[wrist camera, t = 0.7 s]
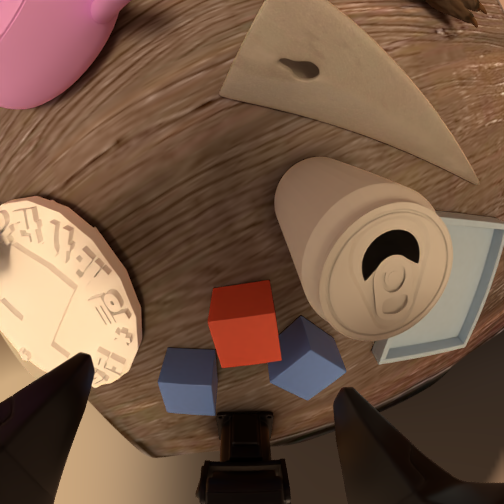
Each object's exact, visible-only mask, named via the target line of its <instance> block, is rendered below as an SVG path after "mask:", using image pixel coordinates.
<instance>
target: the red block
mask: <svg viewBox="0 0 504 504" xmlns="http://www.w3.org/2000/svg"><path fill="white" fill-rule="evenodd" d="M208 325H209V329H210V332H211V335H212V338H213V342H214V345H215V348H216V351H217V354H218V357H219V360H220V364H221V367H222V368H227V367H236V366H245V365H253V364H261V363H268V362H275V361H281V360H282V358H281V351H280V343H279V336H278V329H277V322H276V314H275V308H274V302H273V297H272V291H271V285H270V280H265V281H259V282H252V283H245V284H239V285H232V286H225V287H218V288H213V292H212V298H211V304H210V310H209V316H208Z"/></svg>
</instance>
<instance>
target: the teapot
mask: <svg viewBox="0 0 504 504" xmlns="http://www.w3.org/2000/svg"><path fill="white" fill-rule="evenodd" d="M130 1H131V0H0V107H4V108H9V109H29V108H34V107H36V106H39V105H42V104H44V103H46V102H48V101H50V100H52V99H53V98H55V97H57V96H58V95H60V94H61V93H63V92H64V91H65V90H66V89H68V88H69V87H70V86H71V85H72V84H73V83H74V82H75V81H77V80H78V79H79V78H80V77H81V75H82V74H83V73H84V72H85V71H86V70H87V69H88V68H89V66H90V65H91V64H92V63H93V61H94V60H95V59H96V57H97V56H98V54H99V53H100V51H101V50H102V48H103V47H104V45H105V43H106V42H107V40H108V38H109V36H110V34H111V32H112V30H113V28H114V25H115V23H116V20H117V17H118V14H119V11H120V10H121V9H122V8H123V7H124V6H125V5H127V4H128V3H129V2H130Z"/></svg>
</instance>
